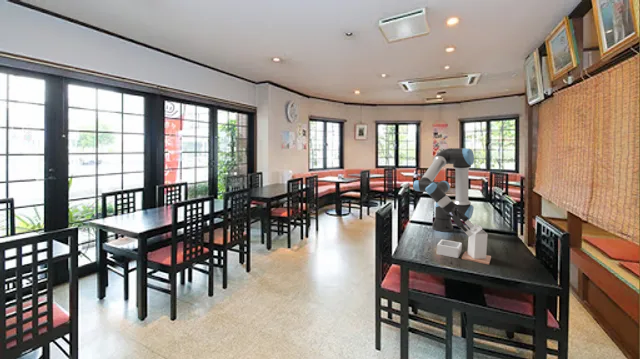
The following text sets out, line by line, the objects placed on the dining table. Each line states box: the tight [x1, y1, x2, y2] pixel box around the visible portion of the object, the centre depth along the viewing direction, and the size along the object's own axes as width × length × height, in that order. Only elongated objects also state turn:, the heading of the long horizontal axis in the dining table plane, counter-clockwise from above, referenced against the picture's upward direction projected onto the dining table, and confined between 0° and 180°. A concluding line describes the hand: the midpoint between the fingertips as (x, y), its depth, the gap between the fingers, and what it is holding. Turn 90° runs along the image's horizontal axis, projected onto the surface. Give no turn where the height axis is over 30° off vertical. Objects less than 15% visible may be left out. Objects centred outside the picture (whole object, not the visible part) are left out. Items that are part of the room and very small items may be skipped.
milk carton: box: [467, 223, 489, 259], centre depth 167 cm, size 7×7×19 cm
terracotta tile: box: [461, 250, 492, 265], centre depth 168 cm, size 12×14×1 cm
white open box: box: [436, 239, 463, 259], centre depth 176 cm, size 12×12×6 cm
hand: (472, 232), depth 167 cm, fingers open, 13 cm apart
